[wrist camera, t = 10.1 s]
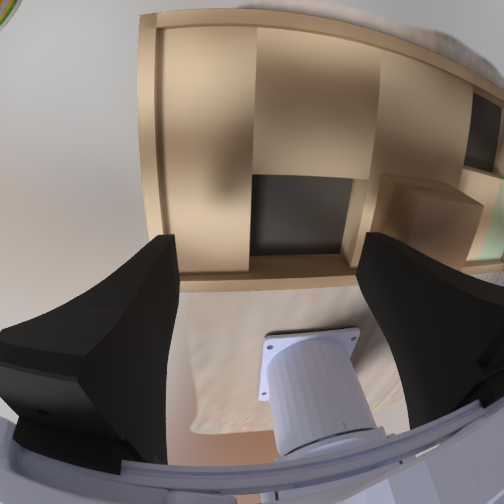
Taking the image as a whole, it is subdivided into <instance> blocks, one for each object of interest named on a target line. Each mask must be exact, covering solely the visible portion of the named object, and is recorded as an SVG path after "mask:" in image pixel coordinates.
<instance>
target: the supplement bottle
mask: <svg viewBox="0 0 504 504" xmlns="http://www.w3.org/2000/svg"><path fill="white" fill-rule="evenodd" d="M21 1H22V0H0V30H1V29H2V28H3V27H4V26H5V25H6V24H7V23H8V22H9V20H10V19H11V18H12V16H13V15H14V14H15V12H16V11H17V9H18V7H19V6H20V4H21Z"/></svg>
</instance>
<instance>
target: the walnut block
mask: <svg viewBox="0 0 504 504" xmlns="http://www.w3.org/2000/svg"><path fill="white" fill-rule="evenodd" d="M483 209H484V205H482V204H481V203H479V202H478V201H476V200H474V199H473V198H471V197H470V196H468V195H466V194H465V193H463V192H461V191H460V190H458V189H456V188H455V187H453V186H451V185H449V184H448V183H445V182H439V181H433V180H426V179H420V178H413V177H405V176H397V175H389V174H381V179H380V184H379V190H378V195H377V200H376V205H375V210H374V215H373V220H372V224H371V229H370V232H380V233H383V234H386V235H388V236H391V237H393V238H395V239H397V240H399V241H401V242H403V243H405V244H407V245H409V246H411V247H412V248H414V249H416V250H418V251H420V252H422V253H424V254H425V255H427V256H429V257H431V258H433V259H435V260H437V261H439V262H441V263H443V264H445V265H447V266H449V267H451V268H453V269H455V270H458V271H460V272H461V271H462V269H463V267H464V264H465V262H466V259H467V256H468V254H469V251H470V249H471V246H472V243H473V240H474V237H475V234H476V232H477V229H478V225H479V222H480V219H481V216H482V213H483Z"/></svg>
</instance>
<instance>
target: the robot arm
mask: <svg viewBox="0 0 504 504" xmlns="http://www.w3.org/2000/svg"><path fill="white" fill-rule="evenodd" d="M355 276H356V278H357V281H358V284H359V287H360V289H361V292H362V294H363V296H364V298H365V300H366V302H367V304H368V306H369V308H370V309H371V311H372V313H373V315H374V317H375V319H376V320H377V322H378V324H379V326H380V328H381V330H382V332H383V333H384V335H385V337H386V339H387V342H388V344H389V346H390V349H391V351H392V354H393V357H394V360H395V363H396V365H397V369H398V372H399V375H400V379H401V382H402V386H403V391H404V395H405V400H406V404H407V410H408V417H409V424H410V431H407V432H404V433H401V434H398V435H396V434H390V435H387V436H386V433H385V431H384V428H383V427H382V426H381V427H379V428H377V426H376V424H375V421H374V418H373V416H372V413H371V410H370V408H369V405H368V403H367V400H366V398H365V395H364V392H363V390H362V387H361V385H360V382H359V380H358V377H357V375H356V373H355V370H354V368H353V365H352V363H351V360H350V357H351V355H352V353H353V350H354V348H355V345H356V343H357V340H358V338H359V335H360V330H359V328H347V329H339V330H330V331H320V332H309V333H298V334H285V335H270V336H267V337H265V338H264V340H263V351H262V361H261V371H260V381H259V391H258V399H259V400H260V401H268V400H269V404H270V410H271V416H272V422H273V428H274V434H275V440H276V446H277V450H278V452H279V454H280V457H278V458H275V463H267V464H256V465H241V466H204V467H203V466H175V465H168V461H167V446H166V416H165V415H166V377H167V376H166V375H167V363H168V355H169V349H170V344H171V339H172V334H173V329H174V324H175V319H176V314H177V309H178V303H179V291H180V276H179V268H178V260H177V251H176V242H175V234H167V235H157V236H156V237H155V238H153V239H152V240H151V241H150V242H149V243H148V244H146V245H145V246H144V247H143V248H142V249H141V250H140V251H139V252H137V254H135V255H134V256H133V257H132V258H131V259H129V260H128V261H127V262H126V263H125V264H123V265H122V266H121V267H120V268H118V269H117V270H116V271H115V272H113V273H112V274H111V275H110V276H108V277H107V278H106V279H104V280H103V281H101V282H100V283H99V284H97V285H95V286H94V287H92V288H91V289H90V290H88V291H86V292H85V293H83V294H81V295H79V296H77V297H76V298H74V299H72V300H70V301H69V302H67V303H65V304H63V305H61V306H59V307H57V308H55V309H53V310H51V311H49V312H47V313H45V314H42V315H40V316H38V317H35V318H33V319H30V320H28V321H25V322H22V323H19V324H17V325H14V326H11V327H8V328H5V329H2V330H1V332H0V397H1V398H2V399H3V400H4V401H5V402H6V403H7V405H8V406H9V407H10V408H11V409H12V410H13V411H14V412H15V413H16V414H17V415H19V418H18V422H17V425H16V424H14V423H13V422H11V421H10V420H7V419H6V418H3V417H1V416H0V503H1V504H237V499H236V498H234V497H233V496H221V495H244V494H257V493H261V503H257V504H504V287H502V286H499V285H495V284H492V283H489V282H486V281H483V280H480V279H477V278H475V277H472V276H469V275H467V274H465V273H462V272H460V271H458V270H455V269H453V268H451V267H449V266H447V265H445V264H443V263H441V262H439V261H437V260H435V259H433V258H431V257H429V256H427V255H425V254H424V253H422V252H420V251H418V250H416V249H414V248H412V247H411V246H409V245H407V244H405V243H403V242H401V241H399V240H397V239H395V238H393V237H391V236H388V235H386V234H383V233H380V232H366V235H365V239H364V244H363V248H362V252H361V256H360V260H359V264H358V267H357V271H356V275H355ZM269 345H271V346H269ZM440 443H441V444H440ZM437 444H440V445H439V446H438V447H436V448H434V449H432V450H431V451H429V452H427V453H424V454H422V455H421V456H419V457H417V458H416V456H415V454H418V453H420V452H422V451H425V450H427V449H429V448H431V447H433V446H435V445H437Z"/></svg>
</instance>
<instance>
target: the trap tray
mask: <svg viewBox="0 0 504 504" xmlns="http://www.w3.org/2000/svg"><path fill="white" fill-rule="evenodd" d="M137 67H138V68H137V99H138V100H137V103H138V130H139V131H138V133H139V149H140V164H141V175H142V186H143V195H144V204H145V213H146V221H147V228H148V235H149V242H150V241H151V240H152V239H153V238H155V237H156V236H157V235H167V234H175V242H176V251H177V260H178V268H179V276H180V291H179V292H230V291H261V290H285V289H305V288H323V287H339V286H354V285H359V284H358V281H357V278H356V276H355V275H356V271H357V267H358V264H359V260H360V256H361V252H362V248H363V244H364V239H365V235H366V232H370V229H371V224H372V220H373V215H374V210H375V205H376V200H377V195H378V190H379V184H380V179H381V174H389V175H397V176H405V177H413V178H420V179H426V180H433V181H439V182H445V183H448V184H449V185H451V186H453V187H455V188H456V189H458V190H460V191H461V192H463V193H465V194H466V195H468V196H470V197H471V198H473V199H474V200H476V201H478V202H479V203H481V204H482V205H484V209H483V213H482V216H481V219H480V222H479V225H478V229H477V232H476V234H475V237H474V240H473V243H472V246H471V249H470V251H469V254H468V256H467V259H466V262H465V264H464V267H463V269H462V271H461V272H462V273H465V274H467V275H471V274H479V273H487V272H495V271H502V270H504V90H502V89H501V88H499V87H498V86H496V85H495V84H493V83H491V82H490V81H488V80H486V79H485V78H483V77H481V76H480V75H478V74H476V73H474V72H473V71H471V70H469V69H467V68H465V67H463V66H461V65H459V64H458V63H456V62H454V61H452V60H449V59H447V58H445V57H443V56H441V55H439V54H437V53H434V52H432V51H430V50H428V49H425V48H423V47H420V46H418V45H415V44H413V43H410V42H408V41H405V40H402V39H399V38H397V37H394V36H391V35H388V34H385V33H382V32H378V31H375V30H372V29H368V28H365V27H361V26H357V25H353V24H349V23H345V22H341V21H336V20H332V19H327V18H322V17H316V16H310V15H304V14H297V13H290V12H281V11H271V10H259V9H236V8H212V9H190V10H177V11H167V12H159V13H151V14H145V15H140V24H139V39H138V65H137Z"/></svg>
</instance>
